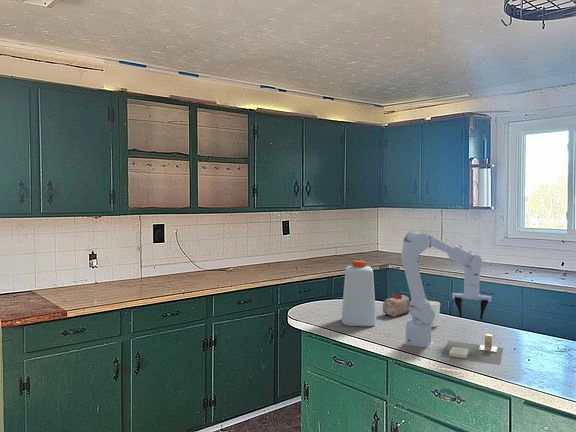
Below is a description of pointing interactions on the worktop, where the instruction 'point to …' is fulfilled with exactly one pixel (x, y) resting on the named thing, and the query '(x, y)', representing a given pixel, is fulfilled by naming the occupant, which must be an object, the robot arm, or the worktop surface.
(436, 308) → the white cup
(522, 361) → the worktop surface
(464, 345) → the mat
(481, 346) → the beige blocky piece
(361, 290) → the plastic bottle
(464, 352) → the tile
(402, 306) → the food item
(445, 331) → the worktop surface
